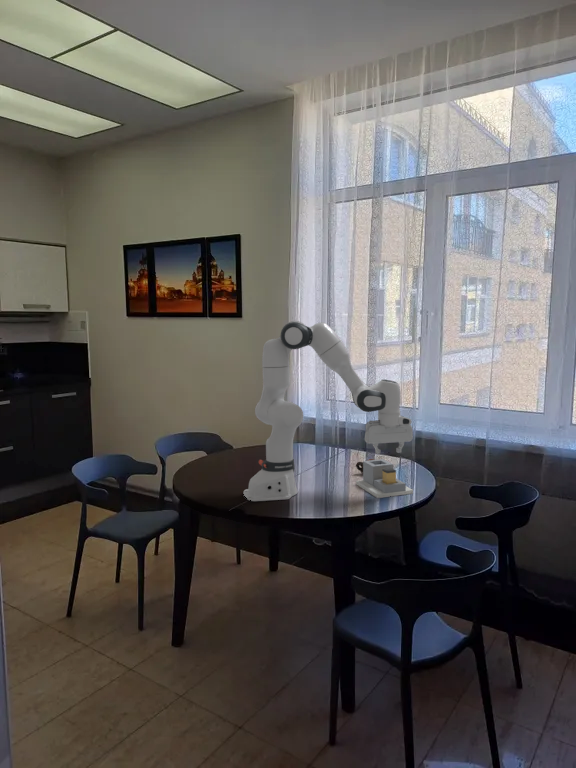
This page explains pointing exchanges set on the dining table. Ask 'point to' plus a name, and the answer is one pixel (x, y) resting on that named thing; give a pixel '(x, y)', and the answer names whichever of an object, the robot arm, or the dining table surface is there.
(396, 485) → the square socket stand
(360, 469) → the pottery mug
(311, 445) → the dining table surface
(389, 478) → the plug
